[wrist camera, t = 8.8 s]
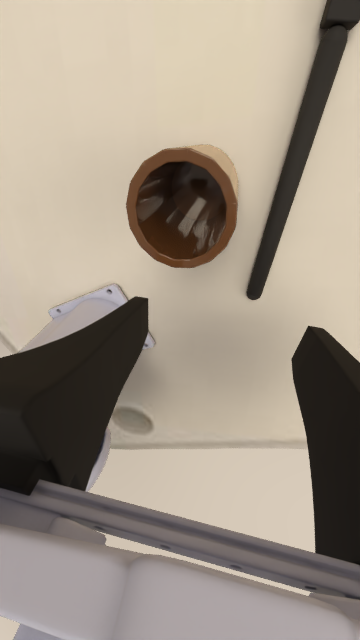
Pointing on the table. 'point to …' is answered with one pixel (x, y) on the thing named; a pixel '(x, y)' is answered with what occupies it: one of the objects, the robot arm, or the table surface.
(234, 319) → the table surface
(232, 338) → the table surface
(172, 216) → the pen cup
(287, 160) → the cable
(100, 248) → the table surface
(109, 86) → the table surface
